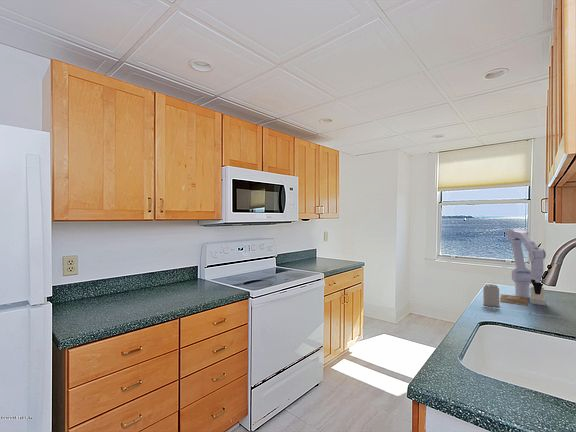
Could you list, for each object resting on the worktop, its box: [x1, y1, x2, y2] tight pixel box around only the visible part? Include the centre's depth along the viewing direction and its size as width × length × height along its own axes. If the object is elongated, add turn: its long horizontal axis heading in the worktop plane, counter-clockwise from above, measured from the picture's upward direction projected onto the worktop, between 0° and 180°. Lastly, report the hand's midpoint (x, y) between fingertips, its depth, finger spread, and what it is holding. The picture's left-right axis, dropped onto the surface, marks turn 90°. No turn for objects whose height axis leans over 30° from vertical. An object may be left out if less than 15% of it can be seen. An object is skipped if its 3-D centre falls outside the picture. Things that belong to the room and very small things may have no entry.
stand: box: [529, 298, 547, 306], centre depth 177 cm, size 6×7×3 cm
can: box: [482, 283, 500, 308], centre depth 173 cm, size 8×8×12 cm
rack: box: [499, 293, 529, 306], centre depth 182 cm, size 13×13×3 cm
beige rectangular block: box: [530, 286, 545, 301], centre depth 178 cm, size 2×6×9 cm, turn 52°
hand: (537, 293), depth 178 cm, fingers open, 7 cm apart
